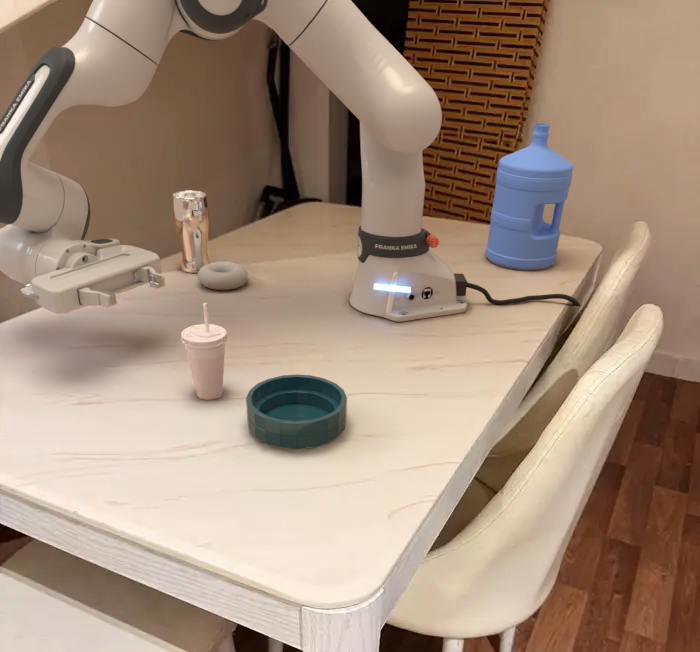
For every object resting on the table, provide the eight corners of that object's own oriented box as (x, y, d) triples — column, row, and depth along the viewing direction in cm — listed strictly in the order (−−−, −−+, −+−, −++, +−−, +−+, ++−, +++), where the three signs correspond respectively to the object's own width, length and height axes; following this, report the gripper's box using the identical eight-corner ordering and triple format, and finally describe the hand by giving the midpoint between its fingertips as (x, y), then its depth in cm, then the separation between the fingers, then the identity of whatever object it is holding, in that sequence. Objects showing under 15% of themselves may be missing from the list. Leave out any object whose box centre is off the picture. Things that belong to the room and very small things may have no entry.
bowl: (335, 398, 103) (335, 371, 100) (355, 447, 92) (356, 418, 90) (243, 406, 100) (242, 378, 98) (253, 457, 90) (252, 427, 87)
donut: (215, 273, 146) (188, 287, 138) (213, 256, 144) (187, 270, 136) (257, 280, 143) (232, 295, 135) (256, 263, 141) (231, 278, 134)
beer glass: (181, 262, 150) (173, 189, 142) (214, 262, 151) (208, 190, 142) (177, 273, 145) (169, 198, 136) (211, 273, 145) (205, 198, 137)
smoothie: (222, 406, 100) (214, 314, 92) (180, 401, 101) (169, 309, 93) (237, 386, 105) (231, 297, 97) (197, 381, 106) (187, 292, 98)
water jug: (477, 265, 155) (496, 126, 139) (493, 245, 167) (512, 116, 151) (548, 276, 150) (576, 134, 134) (559, 255, 162) (586, 122, 146)
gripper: (8, 268, 98) (74, 290, 92) (120, 235, 112) (184, 252, 106) (18, 311, 101) (83, 335, 95) (126, 273, 116) (188, 292, 110)
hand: (137, 291), depth 101 cm, fingers open, 8 cm apart
